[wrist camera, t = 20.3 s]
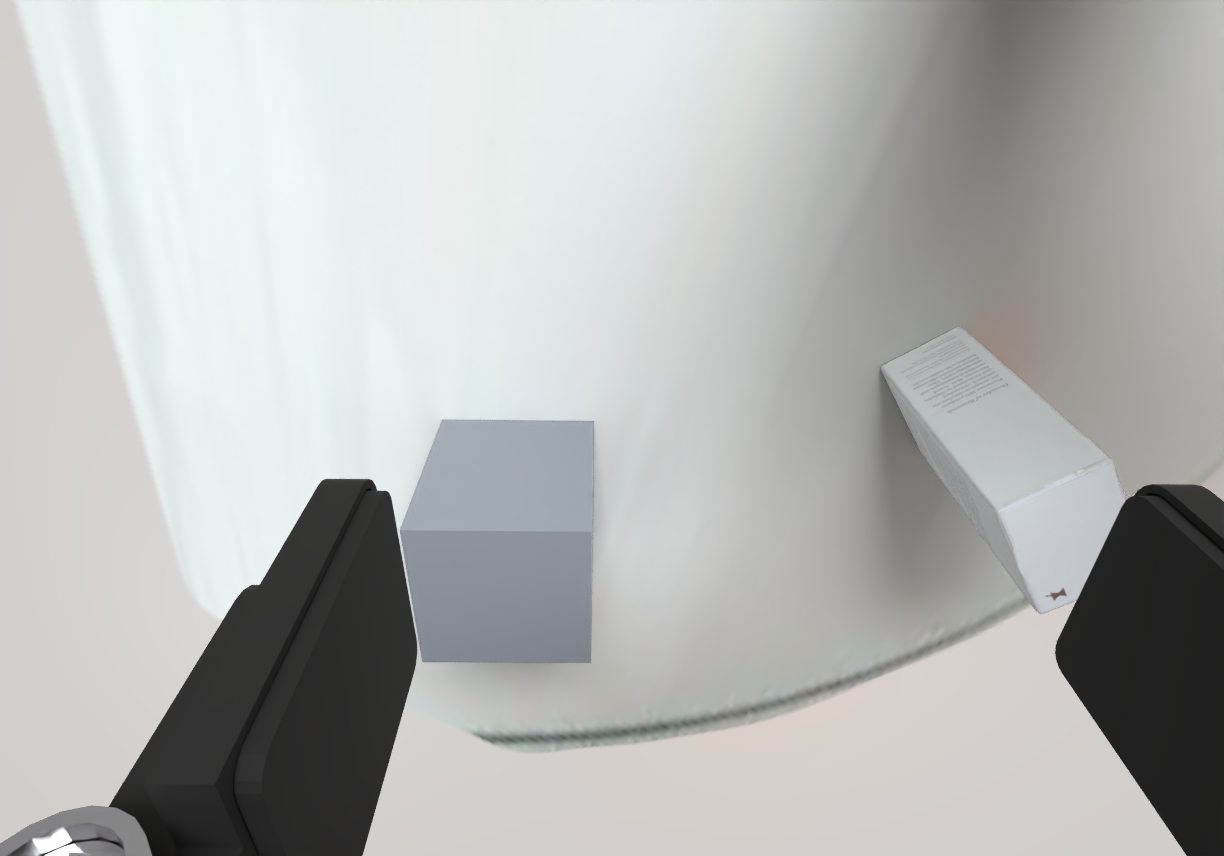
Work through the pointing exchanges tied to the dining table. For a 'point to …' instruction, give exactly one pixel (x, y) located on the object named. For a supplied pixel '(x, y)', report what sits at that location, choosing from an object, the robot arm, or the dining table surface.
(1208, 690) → the robot arm
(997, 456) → the skincare box
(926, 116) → the dining table surface
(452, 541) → the grey matte cube
